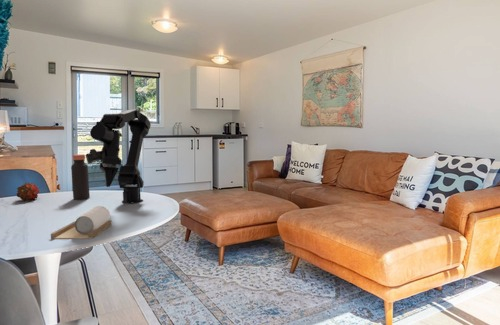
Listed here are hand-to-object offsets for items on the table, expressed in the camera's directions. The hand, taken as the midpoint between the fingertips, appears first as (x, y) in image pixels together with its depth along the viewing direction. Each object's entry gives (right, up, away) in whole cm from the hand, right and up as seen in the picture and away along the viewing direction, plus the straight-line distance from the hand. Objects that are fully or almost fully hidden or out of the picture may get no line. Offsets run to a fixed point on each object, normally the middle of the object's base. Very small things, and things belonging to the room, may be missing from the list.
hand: (108, 186), depth 134 cm
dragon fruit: (-48, -8, +29) cm, 56 cm away
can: (+4, -8, -16) cm, 18 cm away
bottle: (-24, -8, +30) cm, 39 cm away
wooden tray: (+1, -12, -23) cm, 26 cm away
